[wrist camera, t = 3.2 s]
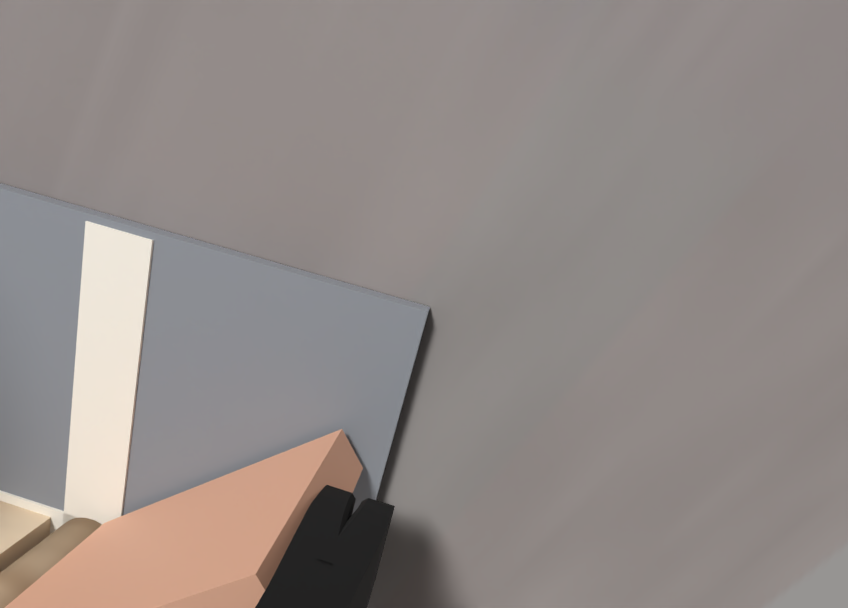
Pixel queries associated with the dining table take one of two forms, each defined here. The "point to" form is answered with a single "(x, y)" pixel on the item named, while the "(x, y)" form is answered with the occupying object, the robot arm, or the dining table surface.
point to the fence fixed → (33, 547)
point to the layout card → (177, 362)
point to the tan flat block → (200, 538)
